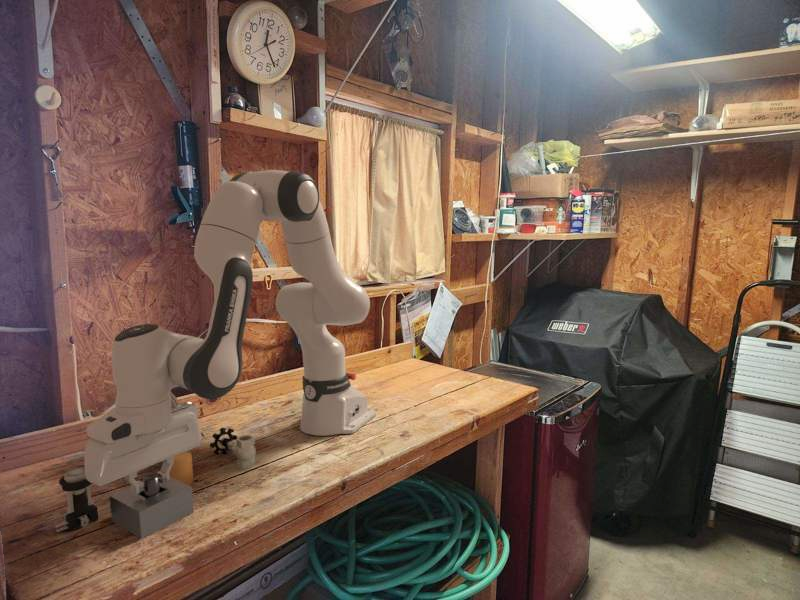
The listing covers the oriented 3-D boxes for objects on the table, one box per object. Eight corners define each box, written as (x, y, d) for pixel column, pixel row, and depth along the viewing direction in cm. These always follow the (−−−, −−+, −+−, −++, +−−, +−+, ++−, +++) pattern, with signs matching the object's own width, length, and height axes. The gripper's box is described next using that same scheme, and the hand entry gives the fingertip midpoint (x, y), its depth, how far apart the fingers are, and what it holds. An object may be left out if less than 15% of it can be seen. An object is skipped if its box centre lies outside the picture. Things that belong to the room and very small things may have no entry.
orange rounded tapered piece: (184, 475, 108) (182, 449, 107) (198, 481, 105) (196, 455, 104) (162, 485, 104) (160, 458, 103) (176, 492, 101) (174, 464, 100)
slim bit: (156, 512, 94) (153, 472, 93) (164, 516, 93) (161, 476, 92) (143, 519, 92) (140, 478, 91) (151, 523, 91) (147, 482, 90)
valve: (264, 463, 114) (235, 449, 121) (263, 435, 113) (234, 423, 120) (239, 474, 109) (210, 458, 116) (237, 445, 108) (208, 431, 115)
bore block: (163, 496, 99) (161, 473, 99) (193, 511, 94) (191, 486, 93) (111, 521, 91) (109, 495, 90) (141, 539, 86) (139, 512, 85)
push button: (62, 539, 86) (56, 485, 84) (51, 528, 89) (45, 476, 88) (104, 521, 91) (98, 470, 90) (91, 512, 94) (86, 462, 93)
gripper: (186, 395, 100) (191, 460, 102) (75, 430, 83) (84, 506, 85) (205, 401, 97) (210, 468, 99) (94, 438, 80) (102, 518, 82)
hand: (151, 486), depth 92 cm, fingers open, 3 cm apart
